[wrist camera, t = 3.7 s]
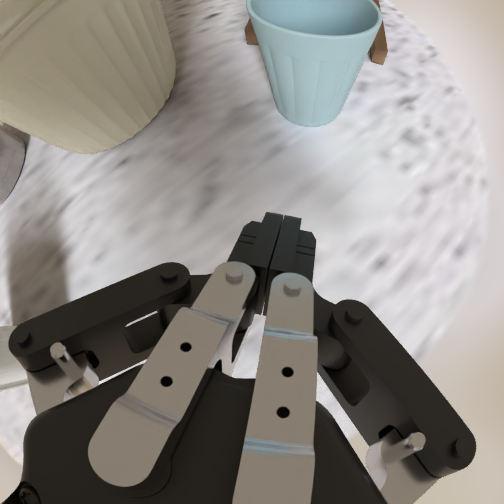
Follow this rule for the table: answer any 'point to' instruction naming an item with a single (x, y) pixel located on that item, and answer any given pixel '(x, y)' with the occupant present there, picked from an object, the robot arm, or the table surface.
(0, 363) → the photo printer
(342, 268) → the table surface
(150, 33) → the canister
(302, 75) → the cup
